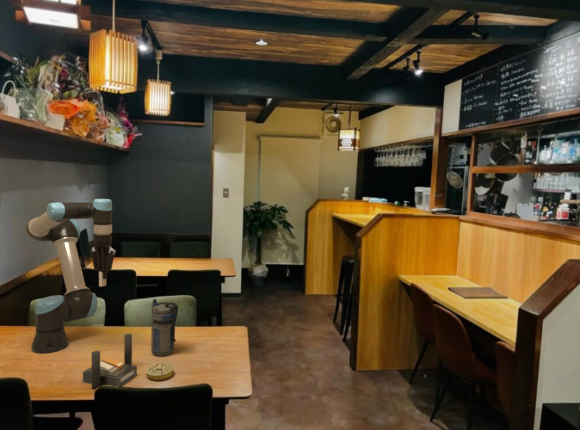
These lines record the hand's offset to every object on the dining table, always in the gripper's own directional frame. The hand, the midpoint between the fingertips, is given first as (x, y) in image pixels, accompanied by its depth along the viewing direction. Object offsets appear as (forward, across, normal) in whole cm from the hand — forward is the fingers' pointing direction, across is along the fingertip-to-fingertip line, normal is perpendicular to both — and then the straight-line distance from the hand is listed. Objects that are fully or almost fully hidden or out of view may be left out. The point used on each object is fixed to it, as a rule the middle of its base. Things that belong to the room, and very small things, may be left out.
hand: (102, 285), depth 188 cm
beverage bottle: (+32, +25, +12) cm, 42 cm away
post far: (+32, +19, -7) cm, 38 cm away
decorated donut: (+32, +36, -8) cm, 49 cm away
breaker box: (+32, +19, -18) cm, 41 cm away
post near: (+32, +19, -26) cm, 45 cm away
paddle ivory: (+26, +19, -20) cm, 38 cm away
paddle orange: (+26, +19, -16) cm, 36 cm away
